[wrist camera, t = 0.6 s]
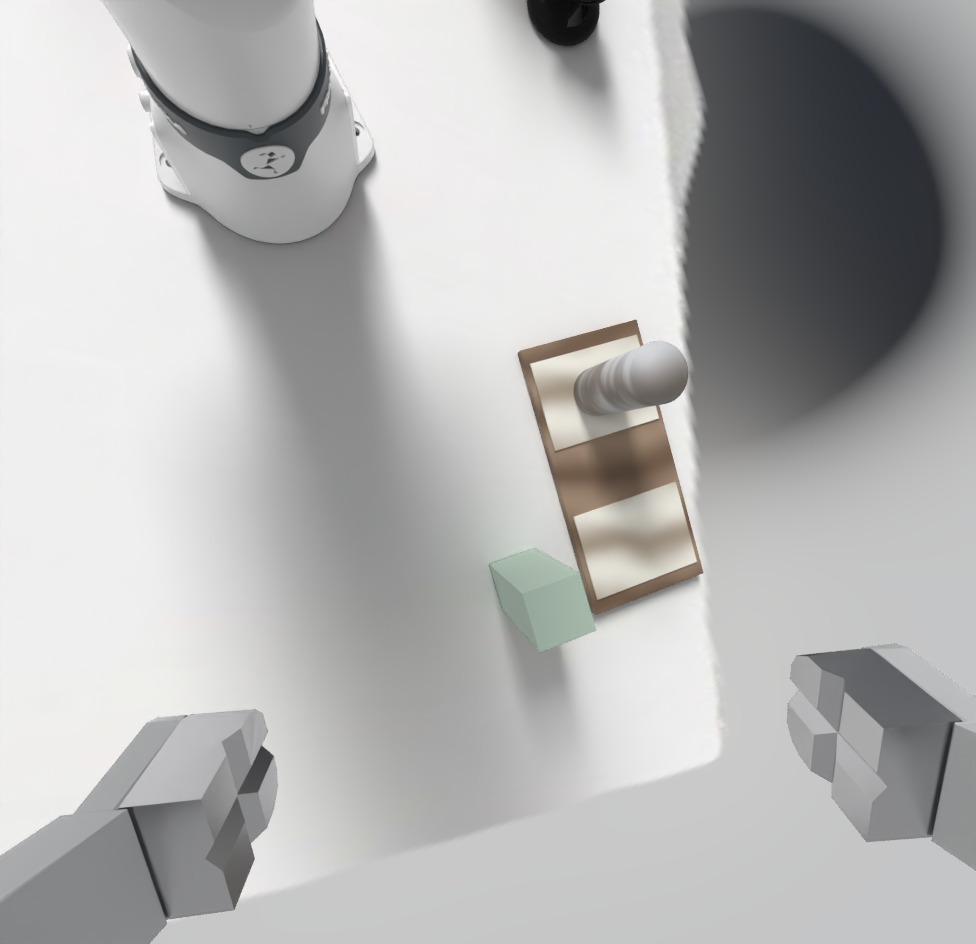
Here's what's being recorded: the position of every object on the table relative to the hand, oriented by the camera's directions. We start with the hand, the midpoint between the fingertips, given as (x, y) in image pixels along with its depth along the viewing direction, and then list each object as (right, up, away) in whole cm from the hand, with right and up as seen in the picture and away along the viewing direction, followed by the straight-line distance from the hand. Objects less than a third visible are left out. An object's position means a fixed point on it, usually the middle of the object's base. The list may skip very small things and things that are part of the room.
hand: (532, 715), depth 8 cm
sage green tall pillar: (+2, -7, +45) cm, 46 cm away
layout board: (+12, +4, +47) cm, 49 cm away
